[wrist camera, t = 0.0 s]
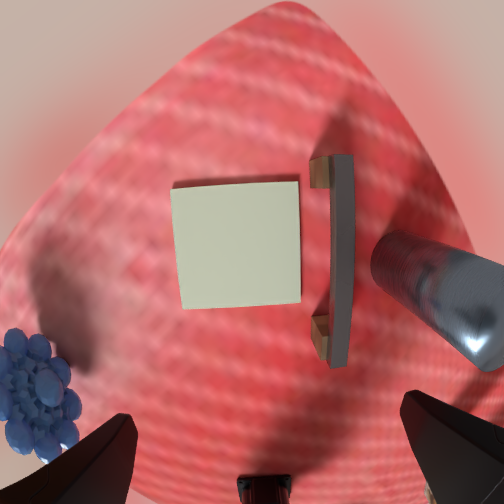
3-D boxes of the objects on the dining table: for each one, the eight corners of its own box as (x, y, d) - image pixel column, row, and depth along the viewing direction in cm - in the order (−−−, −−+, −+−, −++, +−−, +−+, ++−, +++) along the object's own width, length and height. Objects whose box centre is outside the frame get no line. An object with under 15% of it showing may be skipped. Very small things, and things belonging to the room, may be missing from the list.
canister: (419, 288, 23) (520, 357, 10) (368, 294, 23) (462, 383, 10) (423, 229, 22) (543, 269, 9) (371, 231, 22) (489, 280, 9)
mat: (299, 300, 23) (300, 302, 22) (183, 306, 23) (182, 309, 22) (296, 181, 21) (297, 181, 20) (171, 189, 21) (170, 189, 20)
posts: (333, 335, 24) (346, 356, 20) (310, 337, 24) (320, 360, 20) (335, 161, 21) (352, 156, 17) (309, 160, 21) (321, 156, 17)
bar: (341, 357, 20) (346, 366, 19) (326, 359, 20) (330, 368, 19) (346, 156, 17) (353, 154, 16) (328, 156, 17) (333, 154, 16)
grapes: (126, 394, 24) (83, 487, 13) (86, 409, 25) (42, 486, 13) (53, 295, 22) (-34, 357, 10) (20, 323, 23) (-53, 380, 11)
